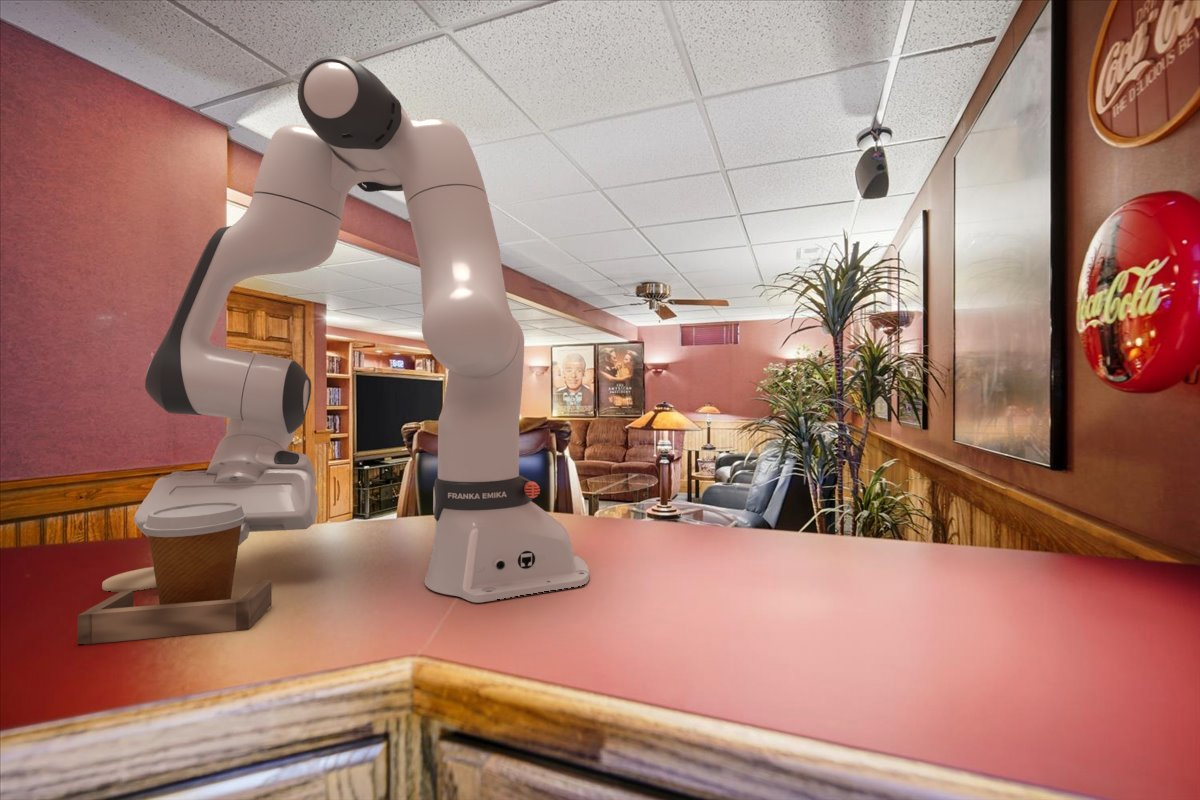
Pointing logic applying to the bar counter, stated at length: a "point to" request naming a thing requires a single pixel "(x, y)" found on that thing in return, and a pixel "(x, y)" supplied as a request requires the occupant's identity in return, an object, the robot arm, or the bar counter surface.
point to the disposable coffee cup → (195, 550)
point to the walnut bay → (170, 617)
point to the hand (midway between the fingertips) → (214, 559)
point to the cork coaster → (131, 581)
